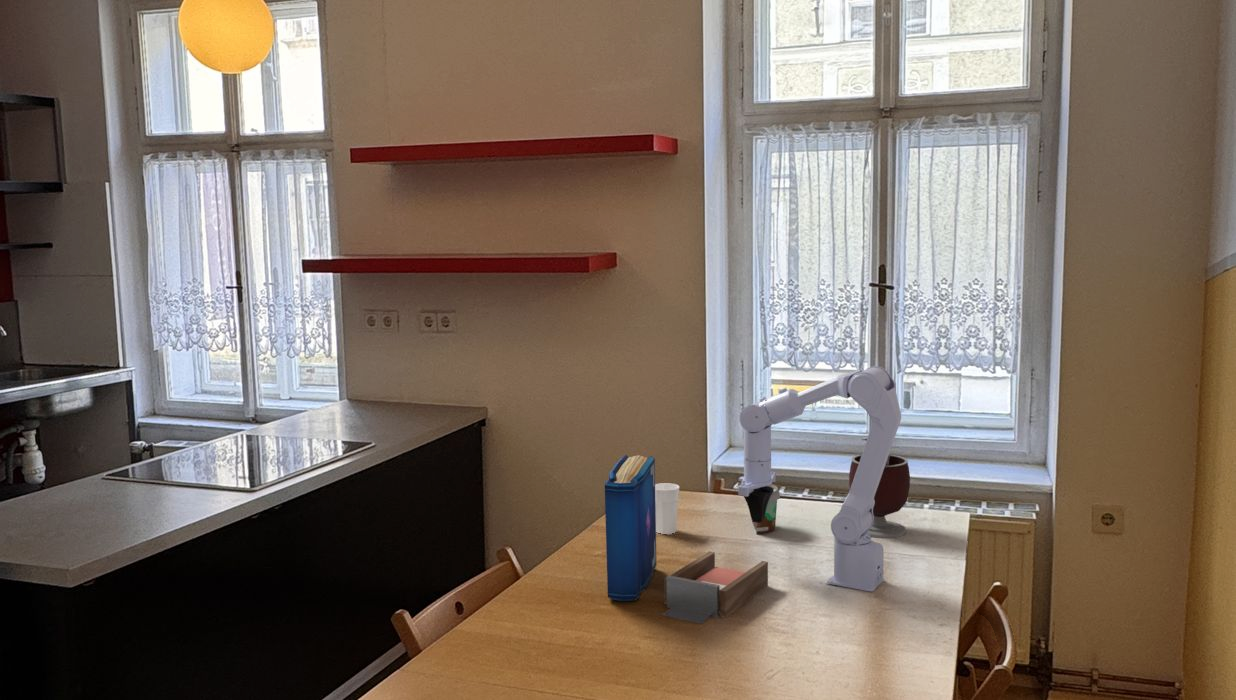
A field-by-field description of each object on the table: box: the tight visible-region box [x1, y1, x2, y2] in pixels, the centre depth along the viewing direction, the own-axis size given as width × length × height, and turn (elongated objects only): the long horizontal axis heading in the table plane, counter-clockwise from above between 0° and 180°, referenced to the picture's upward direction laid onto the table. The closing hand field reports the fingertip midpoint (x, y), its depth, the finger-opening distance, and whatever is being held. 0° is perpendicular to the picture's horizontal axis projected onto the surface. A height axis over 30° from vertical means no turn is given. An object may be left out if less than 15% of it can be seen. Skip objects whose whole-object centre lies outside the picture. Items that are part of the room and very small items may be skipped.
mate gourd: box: [848, 453, 911, 539], centre depth 234 cm, size 16×14×20 cm
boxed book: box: [695, 566, 747, 590], centre depth 196 cm, size 9×14×4 cm, turn 147°
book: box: [604, 454, 657, 602], centre depth 201 cm, size 22×7×25 cm, turn 168°
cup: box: [655, 482, 680, 535], centre depth 237 cm, size 7×7×11 cm
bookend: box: [662, 574, 721, 625], centre depth 186 cm, size 11×5×6 cm, turn 57°
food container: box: [751, 483, 781, 535], centre depth 238 cm, size 12×6×10 cm, turn 179°
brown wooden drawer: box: [663, 551, 769, 618], centre depth 196 cm, size 13×19×5 cm
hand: (757, 521), depth 211 cm, fingers closed
